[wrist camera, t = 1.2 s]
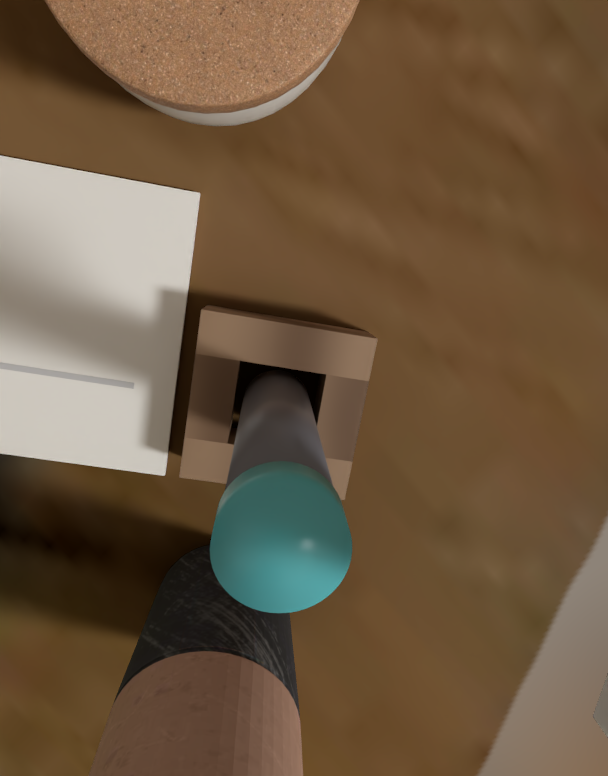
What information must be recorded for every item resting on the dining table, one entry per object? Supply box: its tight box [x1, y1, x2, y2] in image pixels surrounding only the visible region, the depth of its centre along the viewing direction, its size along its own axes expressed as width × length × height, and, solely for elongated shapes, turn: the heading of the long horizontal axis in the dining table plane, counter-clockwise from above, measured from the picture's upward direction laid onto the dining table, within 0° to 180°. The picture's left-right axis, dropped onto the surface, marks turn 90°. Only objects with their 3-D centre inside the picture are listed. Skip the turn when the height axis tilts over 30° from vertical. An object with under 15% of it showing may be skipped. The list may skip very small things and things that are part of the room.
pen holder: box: [179, 305, 377, 500], centre depth 26 cm, size 8×8×2 cm
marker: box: [210, 370, 352, 613], centre depth 20 cm, size 3×3×15 cm
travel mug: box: [89, 545, 303, 776], centre depth 20 cm, size 8×8×20 cm
